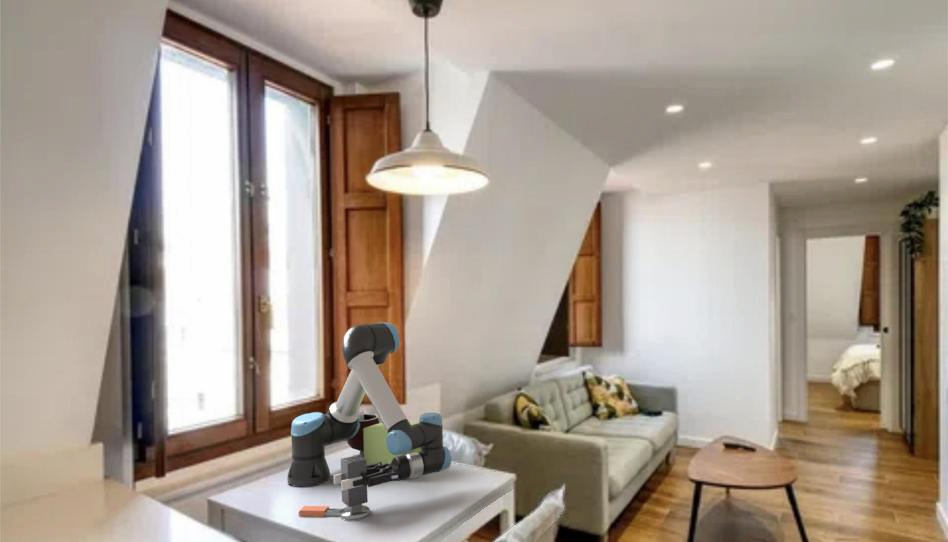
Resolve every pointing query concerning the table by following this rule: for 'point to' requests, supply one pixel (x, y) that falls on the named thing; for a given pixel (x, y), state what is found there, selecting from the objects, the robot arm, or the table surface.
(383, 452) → the container
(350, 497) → the dark grey block
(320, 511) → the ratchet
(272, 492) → the table surface
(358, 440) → the mate gourd
